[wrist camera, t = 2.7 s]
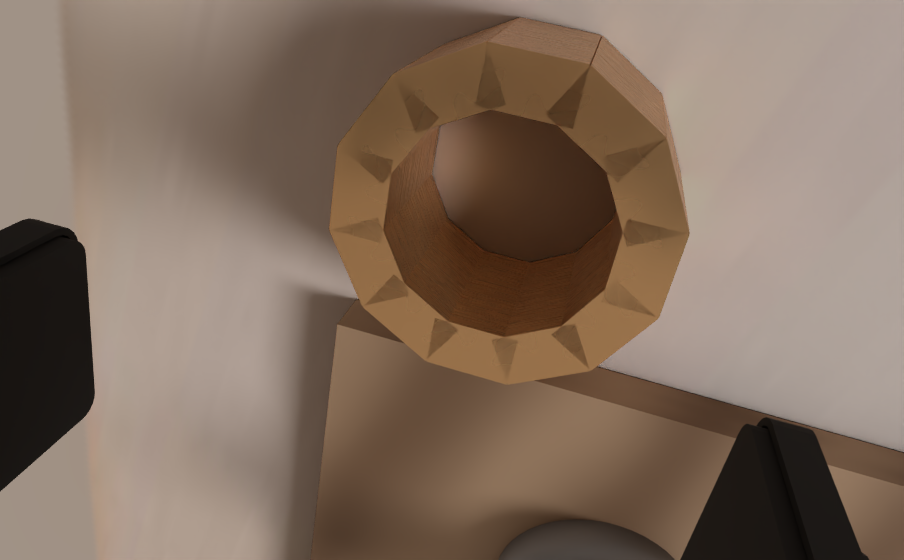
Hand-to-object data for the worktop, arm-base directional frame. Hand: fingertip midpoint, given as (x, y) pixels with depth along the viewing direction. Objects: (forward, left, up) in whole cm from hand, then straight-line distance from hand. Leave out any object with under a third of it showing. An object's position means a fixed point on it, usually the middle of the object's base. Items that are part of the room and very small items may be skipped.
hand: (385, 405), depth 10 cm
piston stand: (-5, +12, -10) cm, 16 cm away
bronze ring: (0, 0, -10) cm, 10 cm away
